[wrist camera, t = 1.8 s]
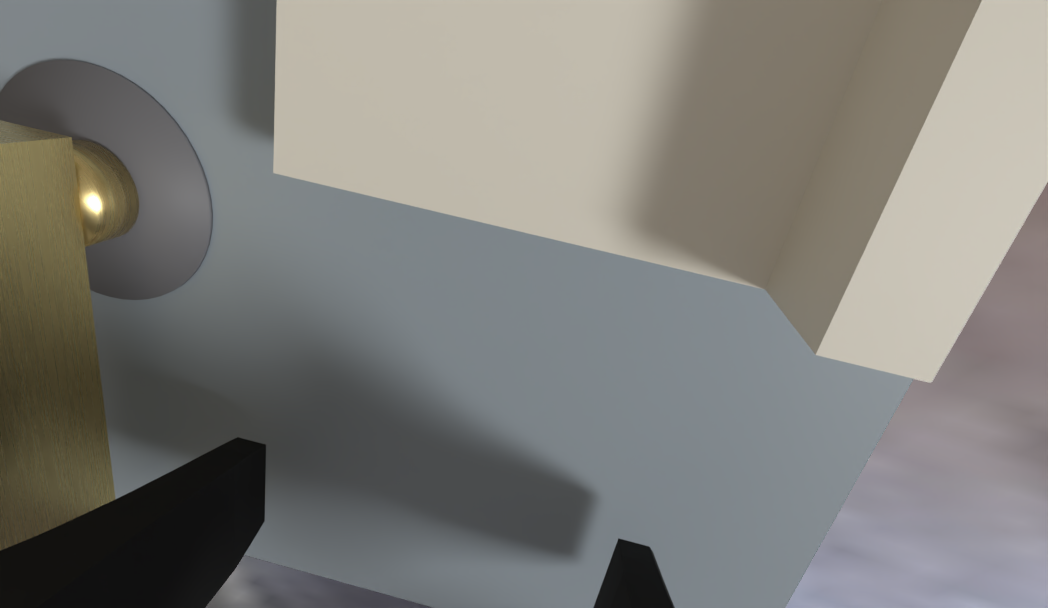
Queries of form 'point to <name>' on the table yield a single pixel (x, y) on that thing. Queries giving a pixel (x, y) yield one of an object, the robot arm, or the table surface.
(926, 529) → the table surface
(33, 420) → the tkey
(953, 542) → the table surface
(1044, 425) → the table surface
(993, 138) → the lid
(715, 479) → the grey flat rectangular board
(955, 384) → the table surface
